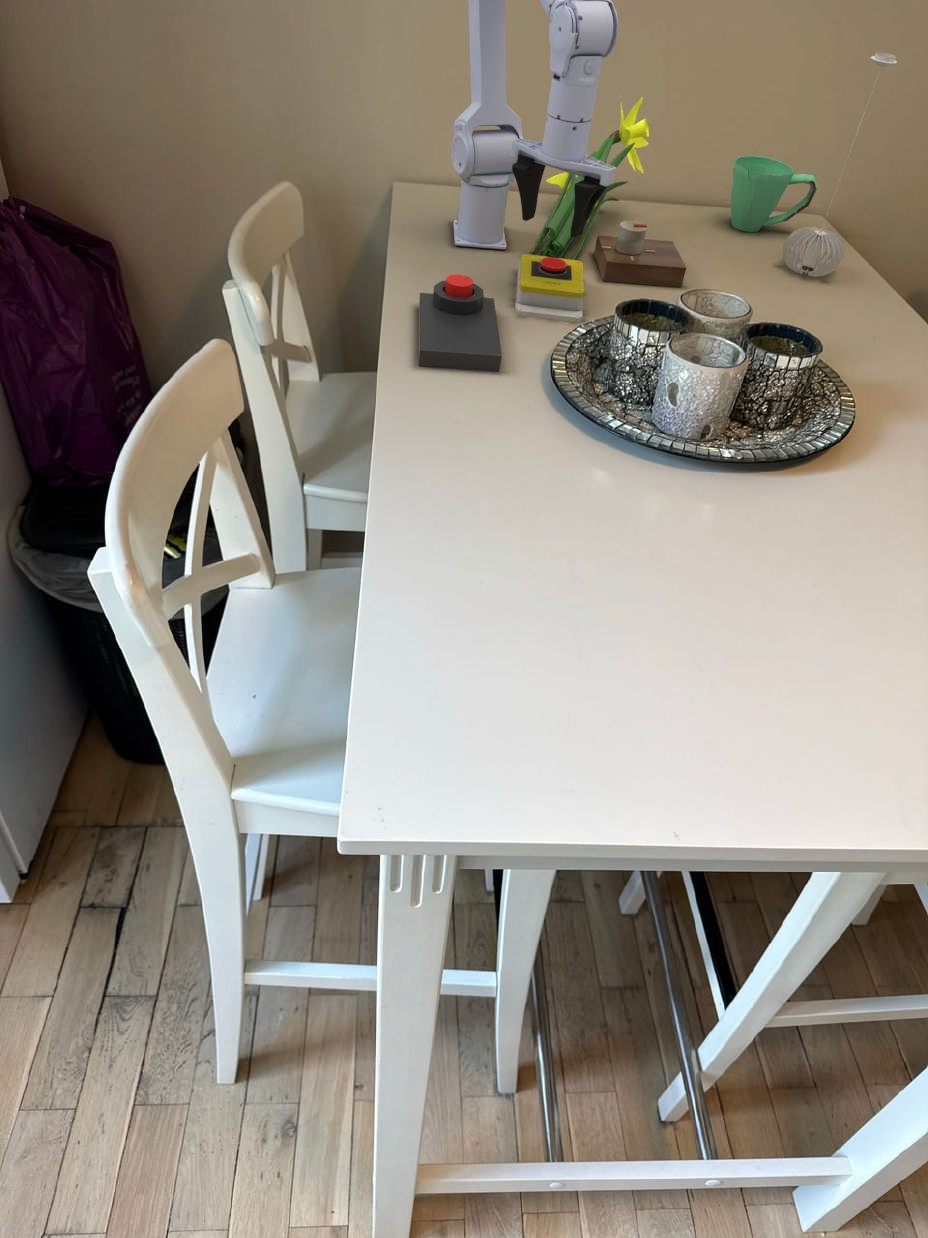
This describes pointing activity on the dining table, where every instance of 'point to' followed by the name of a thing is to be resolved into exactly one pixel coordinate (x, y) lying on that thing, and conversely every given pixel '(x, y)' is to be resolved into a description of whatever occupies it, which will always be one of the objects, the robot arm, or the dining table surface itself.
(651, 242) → the dimmer panel
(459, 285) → the light button
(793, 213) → the mug
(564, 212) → the daffodil flowers
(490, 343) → the switch box
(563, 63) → the robot arm
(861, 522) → the dining table surface
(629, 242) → the dimmer knob
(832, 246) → the pendant light
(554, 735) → the dining table surface
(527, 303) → the emergency button
